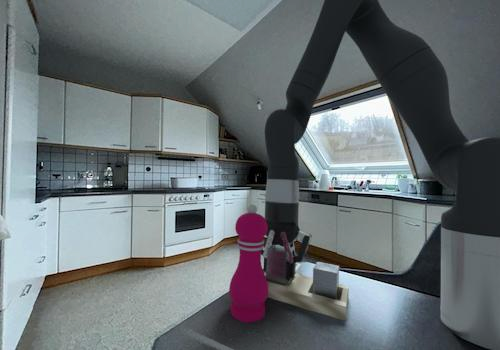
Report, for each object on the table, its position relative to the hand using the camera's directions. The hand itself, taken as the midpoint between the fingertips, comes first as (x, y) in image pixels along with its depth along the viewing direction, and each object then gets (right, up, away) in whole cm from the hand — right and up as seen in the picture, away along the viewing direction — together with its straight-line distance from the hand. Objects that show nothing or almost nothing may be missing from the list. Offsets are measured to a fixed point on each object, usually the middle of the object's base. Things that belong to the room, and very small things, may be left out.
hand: (278, 275), depth 48 cm
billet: (+9, -3, -5) cm, 11 cm away
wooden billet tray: (+4, -4, -2) cm, 6 cm away
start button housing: (+4, -4, +8) cm, 10 cm away
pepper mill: (-7, -3, -9) cm, 12 cm away
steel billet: (0, -1, 0) cm, 1 cm away
